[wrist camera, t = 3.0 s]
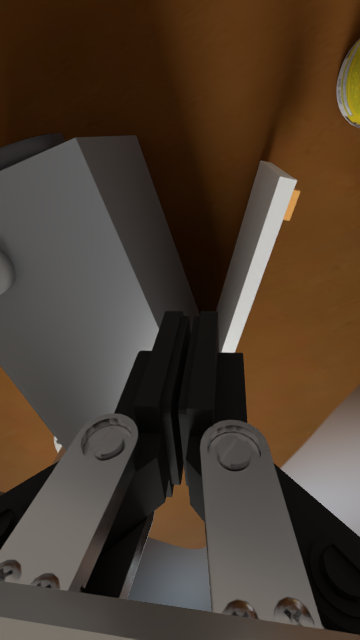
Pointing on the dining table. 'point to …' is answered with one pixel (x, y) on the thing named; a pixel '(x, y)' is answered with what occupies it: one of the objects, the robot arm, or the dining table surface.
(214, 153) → the dining table surface
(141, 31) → the dining table surface
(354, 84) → the supplement bottle
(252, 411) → the dining table surface
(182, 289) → the box
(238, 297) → the side door
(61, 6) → the dining table surface
